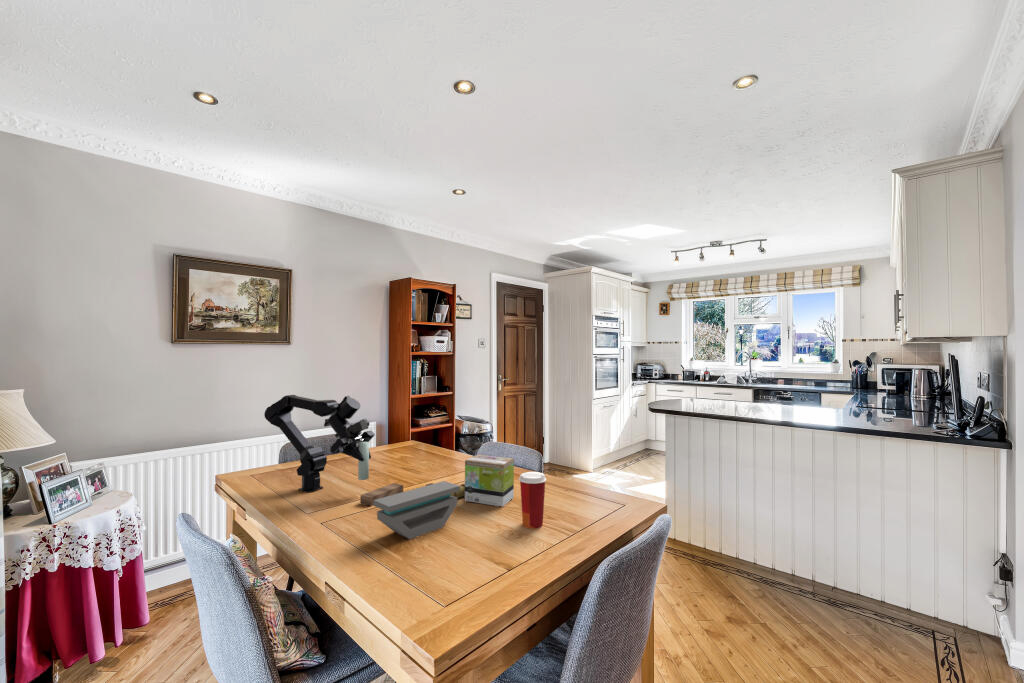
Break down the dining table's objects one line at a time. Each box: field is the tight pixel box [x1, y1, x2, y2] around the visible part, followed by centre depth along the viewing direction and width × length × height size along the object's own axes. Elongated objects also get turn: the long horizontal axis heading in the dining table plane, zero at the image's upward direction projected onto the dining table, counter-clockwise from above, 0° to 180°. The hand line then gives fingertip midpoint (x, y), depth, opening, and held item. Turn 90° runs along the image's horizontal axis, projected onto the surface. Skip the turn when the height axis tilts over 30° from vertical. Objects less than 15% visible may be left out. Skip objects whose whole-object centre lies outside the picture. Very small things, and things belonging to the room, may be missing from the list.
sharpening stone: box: [373, 480, 460, 540], centre depth 131 cm, size 25×8×11 cm, turn 138°
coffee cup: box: [518, 471, 547, 530], centre depth 135 cm, size 8×8×15 cm
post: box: [357, 441, 370, 481], centre depth 162 cm, size 4×4×13 cm
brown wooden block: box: [359, 482, 404, 507], centre depth 159 cm, size 16×5×3 cm, turn 152°
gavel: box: [424, 482, 465, 499], centre depth 165 cm, size 21×5×10 cm
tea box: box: [464, 454, 515, 508], centre depth 157 cm, size 15×10×15 cm
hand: (366, 459), depth 162 cm, fingers closed on post, 4 cm apart
